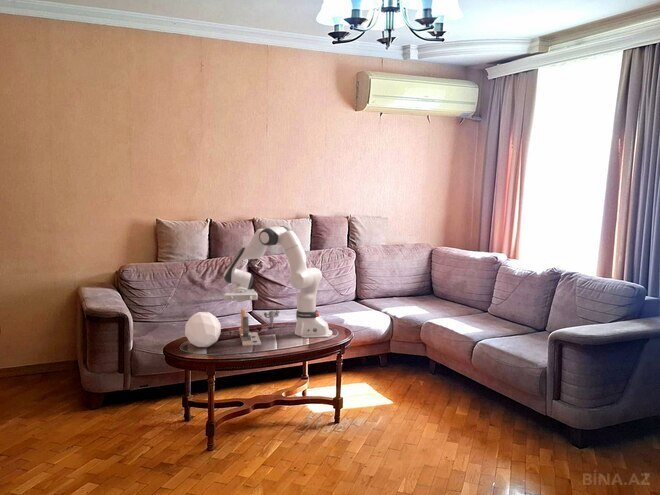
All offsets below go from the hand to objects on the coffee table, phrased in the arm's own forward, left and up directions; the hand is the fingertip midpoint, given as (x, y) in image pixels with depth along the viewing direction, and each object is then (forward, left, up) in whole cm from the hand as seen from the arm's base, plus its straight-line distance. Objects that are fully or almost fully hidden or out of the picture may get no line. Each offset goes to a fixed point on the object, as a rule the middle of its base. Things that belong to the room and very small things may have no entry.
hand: (241, 299), depth 351 cm
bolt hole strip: (-12, +17, -20) cm, 28 cm away
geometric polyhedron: (+12, +33, -20) cm, 41 cm away
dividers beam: (-7, +18, -20) cm, 28 cm away
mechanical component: (-15, -13, -20) cm, 28 cm away
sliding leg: (-4, +11, -17) cm, 21 cm away
